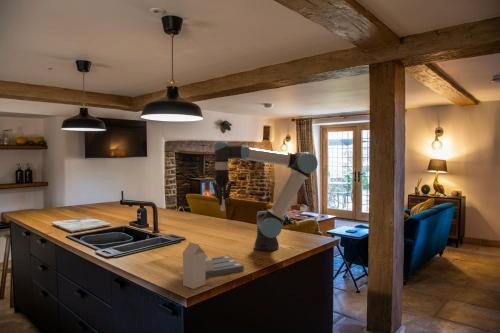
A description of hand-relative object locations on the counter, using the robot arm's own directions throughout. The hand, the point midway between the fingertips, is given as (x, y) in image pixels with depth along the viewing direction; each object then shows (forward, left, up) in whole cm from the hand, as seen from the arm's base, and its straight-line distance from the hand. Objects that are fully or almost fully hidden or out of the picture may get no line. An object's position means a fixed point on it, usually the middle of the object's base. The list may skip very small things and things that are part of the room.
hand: (222, 210), depth 202 cm
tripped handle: (+19, +18, -23) cm, 35 cm away
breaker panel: (+13, +18, -26) cm, 34 cm away
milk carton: (+29, +35, -26) cm, 53 cm away
